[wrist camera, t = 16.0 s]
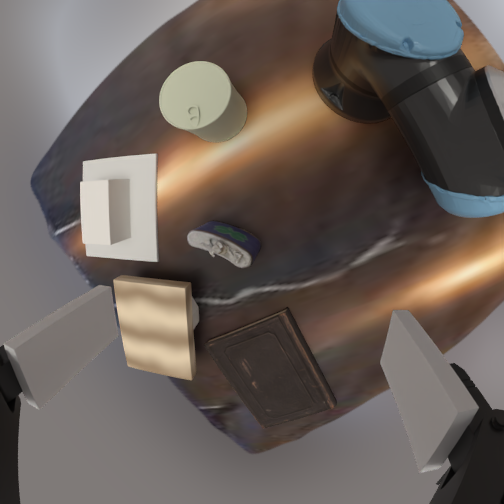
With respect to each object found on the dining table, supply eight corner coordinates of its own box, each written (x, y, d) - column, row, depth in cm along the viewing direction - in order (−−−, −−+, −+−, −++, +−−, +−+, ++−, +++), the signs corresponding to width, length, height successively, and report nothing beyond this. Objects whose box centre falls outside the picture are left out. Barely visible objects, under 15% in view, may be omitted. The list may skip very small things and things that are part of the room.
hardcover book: (264, 421, 54) (263, 428, 52) (207, 338, 51) (203, 344, 49) (336, 398, 50) (337, 406, 48) (288, 305, 47) (287, 311, 45)
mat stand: (85, 161, 46) (60, 160, 39) (157, 153, 44) (136, 150, 37) (88, 255, 50) (65, 264, 43) (158, 261, 48) (139, 273, 41)
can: (191, 146, 43) (158, 136, 31) (188, 93, 41) (156, 69, 29) (250, 138, 41) (234, 122, 30) (244, 83, 40) (227, 52, 28)
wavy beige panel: (121, 275, 43) (113, 279, 41) (191, 282, 41) (185, 288, 39) (134, 359, 47) (127, 366, 44) (196, 371, 45) (192, 380, 43)
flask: (203, 232, 46) (178, 246, 35) (210, 215, 45) (186, 224, 35) (257, 255, 45) (247, 276, 35) (264, 238, 45) (256, 254, 34)
